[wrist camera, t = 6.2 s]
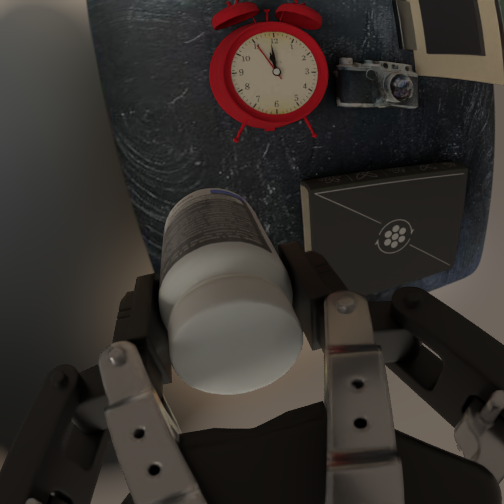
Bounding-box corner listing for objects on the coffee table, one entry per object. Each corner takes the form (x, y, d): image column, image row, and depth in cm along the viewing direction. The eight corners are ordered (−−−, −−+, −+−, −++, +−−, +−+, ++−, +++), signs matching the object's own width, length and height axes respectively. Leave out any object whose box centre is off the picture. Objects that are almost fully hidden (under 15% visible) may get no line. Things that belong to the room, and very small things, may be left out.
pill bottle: (145, 235, 16) (122, 363, 8) (210, 166, 15) (238, 253, 7) (213, 287, 18) (238, 416, 11) (276, 228, 17) (344, 341, 10)
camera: (327, 57, 27) (347, 54, 23) (410, 66, 28) (434, 67, 25) (330, 106, 29) (349, 109, 26) (411, 109, 31) (434, 114, 27)
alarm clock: (218, 151, 26) (208, -28, 16) (211, 127, 31) (203, -18, 21) (335, 142, 27) (345, -20, 17) (310, 120, 32) (315, -16, 22)
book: (452, 159, 35) (468, 165, 32) (441, 257, 42) (453, 267, 39) (298, 178, 32) (308, 186, 30) (306, 295, 40) (314, 310, 37)
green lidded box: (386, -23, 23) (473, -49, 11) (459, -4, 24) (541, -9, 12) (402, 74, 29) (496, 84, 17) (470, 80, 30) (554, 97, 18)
